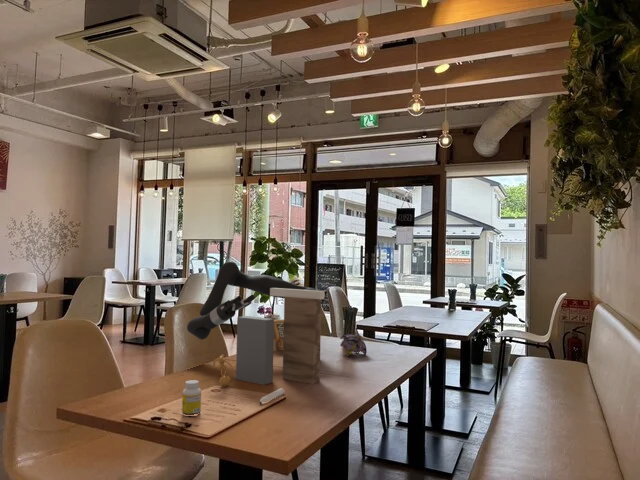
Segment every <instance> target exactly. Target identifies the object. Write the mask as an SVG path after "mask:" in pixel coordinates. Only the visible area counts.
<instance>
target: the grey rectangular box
mask: <svg viewBox="0 0 640 480" xmlns="http://www.w3.org/2000/svg"><path fill="white" fill-rule="evenodd" d="M236 319H237V325H236V360H235V362H236V364H235V366H236V367H235V380H238V381H244V382H248V383H254V384H258V385H265V386H266V385H268V384H271V383H273V382H274V380H273V379H274V378H273V377H274V351H273V347H274V320H275V319H274V318H271V317H270V318H268V317H261V316H260V317H259V316H250V315H244V316H237V318H236Z"/></svg>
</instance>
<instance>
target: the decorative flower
mask: <svg viewBox="0 0 640 480" xmlns="http://www.w3.org/2000/svg"><path fill="white" fill-rule="evenodd" d="M339 339H340V340H342V339H343V340H342V342H341V343H340V345H339V346H341V347H344V348H345V349H346V351H347V352H346V357H347V356H349V357H350V356H353V355H354V354H353V353H354V352H358V353H357V354H360V352H361V353H363V356H364V355H365V356H364V357H366V356H367V353H368V352H367V346H366V343H365V341H364V340H363V339H362V338H361V336H360V335H358V334H357V335H356V334H352V333H348V334H347V333H346V334H343V335H341V336H340V338H339Z"/></svg>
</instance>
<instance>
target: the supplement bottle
mask: <svg viewBox="0 0 640 480" xmlns="http://www.w3.org/2000/svg"><path fill="white" fill-rule="evenodd" d="M199 382H200V381H199V380H196V379H193V380H191V379H190V380H186V381H185V382H184V385H185V386H184V387H185V388H184V389H183V390H182V403H181V404H182V405H181V406H182V407H181V408H182V409H181V411H182V412H181V413H183V414H185V415H194V414H198V413H200V412H201V413H202V411H201V410H202V389H201V388H200V383H199ZM201 413H200V414H201Z"/></svg>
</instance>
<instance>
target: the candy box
mask: <svg viewBox="0 0 640 480" xmlns="http://www.w3.org/2000/svg"><path fill="white" fill-rule="evenodd" d="M283 341H284V318H282V319H274V347H273V352H279V351H283Z"/></svg>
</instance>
